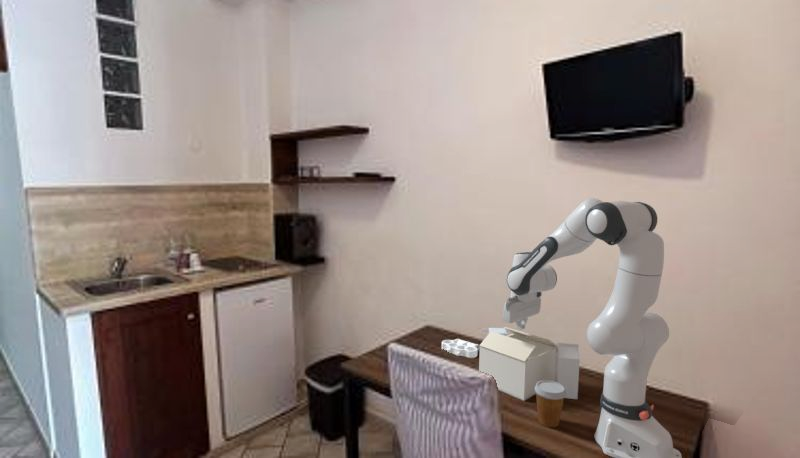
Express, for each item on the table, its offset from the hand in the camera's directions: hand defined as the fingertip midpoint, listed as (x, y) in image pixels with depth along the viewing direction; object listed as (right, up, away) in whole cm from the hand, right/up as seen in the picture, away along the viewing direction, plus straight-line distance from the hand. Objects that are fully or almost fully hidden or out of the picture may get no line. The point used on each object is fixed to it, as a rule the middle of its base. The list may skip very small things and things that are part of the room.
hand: (520, 329), depth 171 cm
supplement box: (-4, -18, +24) cm, 30 cm away
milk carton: (+14, -22, -8) cm, 27 cm away
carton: (-1, -21, +1) cm, 21 cm away
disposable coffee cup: (+2, -24, -27) cm, 36 cm away
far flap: (+5, -4, +4) cm, 8 cm away
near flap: (-7, -5, -6) cm, 10 cm away
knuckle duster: (-18, -18, +32) cm, 41 cm away
